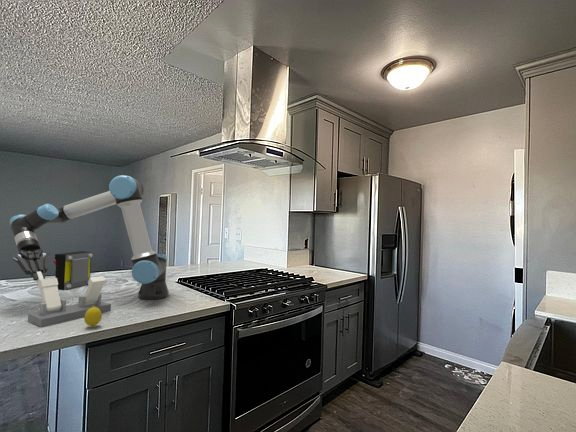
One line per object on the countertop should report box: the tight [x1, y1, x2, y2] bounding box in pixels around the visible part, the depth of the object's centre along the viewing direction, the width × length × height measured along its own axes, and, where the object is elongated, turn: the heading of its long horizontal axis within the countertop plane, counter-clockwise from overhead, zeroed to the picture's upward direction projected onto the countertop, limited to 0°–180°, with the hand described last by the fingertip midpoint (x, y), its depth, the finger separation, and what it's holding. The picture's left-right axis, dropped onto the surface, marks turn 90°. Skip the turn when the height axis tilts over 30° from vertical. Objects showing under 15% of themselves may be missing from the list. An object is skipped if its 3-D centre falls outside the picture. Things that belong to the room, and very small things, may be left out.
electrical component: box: [53, 250, 94, 291], centre depth 178 cm, size 18×10×20 cm, turn 168°
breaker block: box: [27, 292, 112, 328], centre depth 128 cm, size 12×26×8 cm, turn 150°
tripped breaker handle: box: [37, 277, 62, 312], centre depth 123 cm, size 3×6×13 cm, turn 150°
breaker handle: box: [83, 275, 107, 304], centre depth 132 cm, size 3×6×13 cm, turn 149°
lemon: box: [84, 306, 103, 328], centre depth 116 cm, size 6×6×8 cm
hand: (42, 285), depth 127 cm, fingers closed
